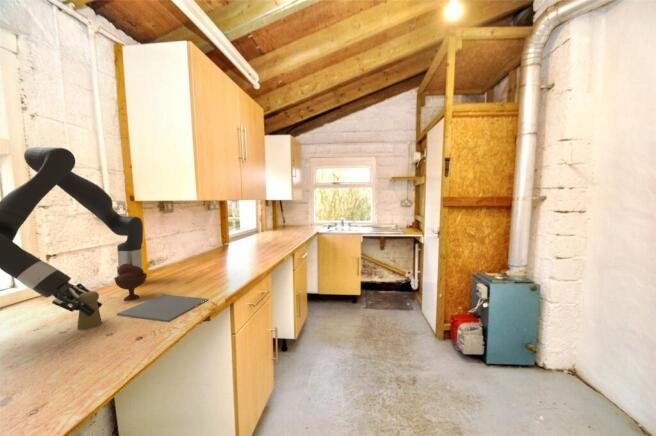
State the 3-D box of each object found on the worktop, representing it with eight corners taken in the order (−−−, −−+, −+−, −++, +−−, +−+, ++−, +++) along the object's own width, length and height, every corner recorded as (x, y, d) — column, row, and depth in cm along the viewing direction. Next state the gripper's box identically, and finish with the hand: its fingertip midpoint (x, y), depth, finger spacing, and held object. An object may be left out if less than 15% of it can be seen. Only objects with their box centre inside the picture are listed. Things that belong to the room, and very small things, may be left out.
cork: (101, 319, 90) (99, 288, 90) (102, 325, 86) (101, 292, 85) (77, 325, 86) (75, 292, 85) (77, 331, 82) (75, 297, 81)
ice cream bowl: (131, 304, 103) (129, 267, 102) (108, 302, 105) (106, 265, 104) (153, 295, 114) (152, 261, 113) (132, 293, 116) (131, 259, 115)
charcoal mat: (116, 315, 94) (116, 313, 94) (163, 295, 113) (163, 294, 113) (168, 321, 89) (168, 320, 89) (207, 300, 108) (207, 298, 108)
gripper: (42, 275, 75) (97, 309, 81) (67, 264, 88) (113, 294, 94) (17, 296, 73) (76, 329, 79) (47, 281, 86) (95, 311, 92)
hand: (96, 310), depth 86 cm, fingers closed on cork, 4 cm apart
